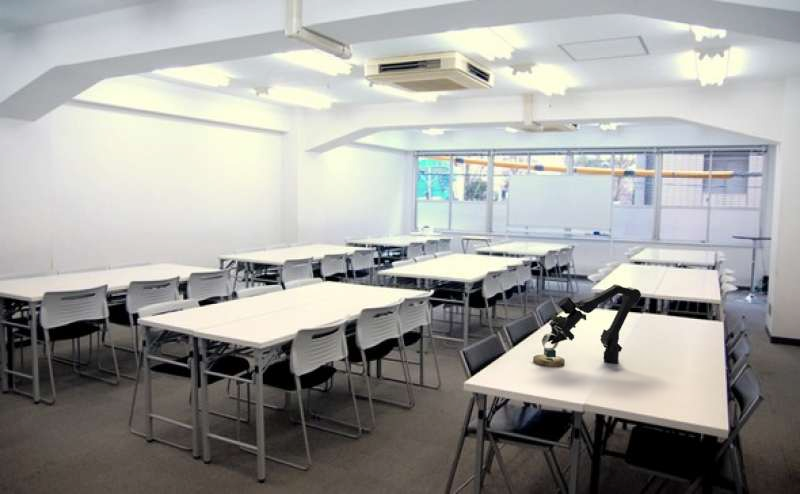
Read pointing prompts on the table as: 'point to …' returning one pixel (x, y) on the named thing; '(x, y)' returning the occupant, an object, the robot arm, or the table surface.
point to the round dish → (548, 361)
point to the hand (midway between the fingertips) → (549, 342)
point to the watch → (549, 351)
